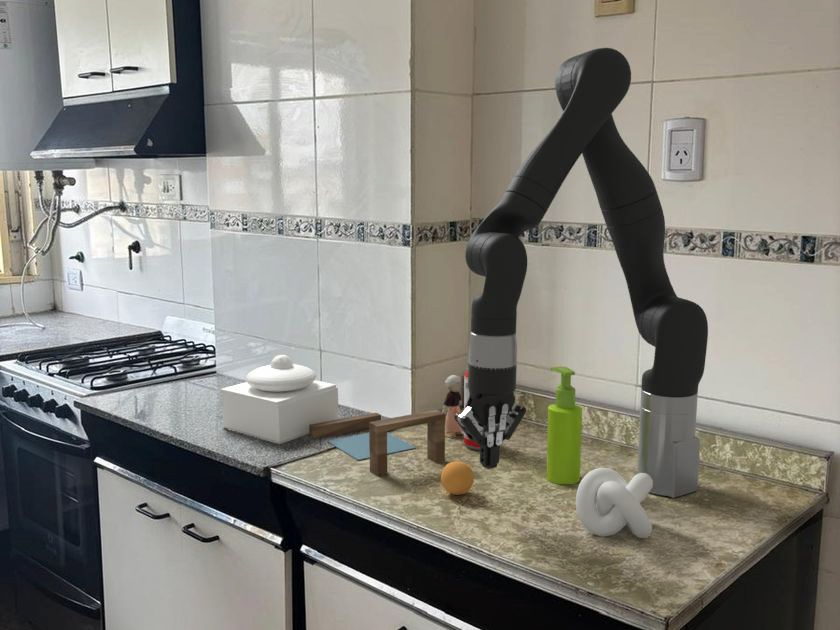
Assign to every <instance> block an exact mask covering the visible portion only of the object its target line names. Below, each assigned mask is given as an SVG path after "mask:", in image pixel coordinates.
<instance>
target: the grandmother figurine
mask: <svg viewBox="0 0 840 630" xmlns="http://www.w3.org/2000/svg"><path fill="white" fill-rule="evenodd" d="M461 382H462V379H461V377H460V376H458V375H455V374H451V375H449V376H448V377H447V378H446V379H445V381H444V384H445V386H446V387H447V389H448V390H449V392H447V394H446V397H445V400H444V402H443V406H442V410H441V412H443V413H445V438H448V437H450V438H449V439H454V438H456V437H457V435H456V434H459V435H461V434H462V432H464V431H463V430H462V428H461V427H460V426H459V424H458V423H457V422H456V420H455V418H454V417H455V415H456V414H457V413H459V414H461V413H462V412H461V408H460V407H461V406H462V405H463V401H462V396H461V393H460V391H459V390H460V388H461Z"/></svg>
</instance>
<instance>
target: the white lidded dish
mask: <svg viewBox="0 0 840 630" xmlns="http://www.w3.org/2000/svg"><path fill="white" fill-rule="evenodd" d="M316 377H317V374H316V372H315V371H314V370H313V369H311V368H309V367H308V366H305V365H302V364H296V363H293V360H292V358H290V357H289V356H288V355H287V354H279V355H275V356H274V357H273V358H272V360H271V361H270V364H268V365H263V366H260V367H259V366H258V367H257V368H255V369H253V370H252V371H250V372H249V373H247V375H246V377H245V382H242V383H237V384H234V385H231V386H226V387H223V388H220V391H219V392H220V393H221V408H222V428H223V427H224V428H227V429H231V430H234V431H237V432H236V433H238V432H240V433H239V434H241V433H244V434H243V435H245V434H247V435H246V436H248V435H250V436H249V437H252V436H254V437H253V438H256V437H257V438H256V439H259V438H260V440H263V441H266V442H267V441H268V442H271V443H274V444H277V445H281V444H284V443H287V442H289V441H292V440H296V439H298V438H301V437H303V436H306V435H309V425H310V424H316V423H321V422H327V421H332V420H338V419H340V418H339V389H338V387H337V384H336V383H329V382H325V381H321V380H316ZM227 429H226V430H227ZM231 430H230V431H231ZM234 431H233V432H234Z"/></svg>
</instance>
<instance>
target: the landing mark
mask: <svg viewBox="0 0 840 630" xmlns="http://www.w3.org/2000/svg"><path fill="white" fill-rule="evenodd" d="M327 443H328V444H330V445H332V446H333V447H335V448H337V449H338V450H340V451H341V452H343V453H345V454H347V455H348V456H350V457H351V458H353V459H354V460H357V461H363V460H370V449H369V433H364V434H363V433H362V434H358V435H352V436H347V437H343V438H342V437H341V438H338V439H332V440H327ZM415 448H416V449H417V447H416V446H414V445H412V444H410V443H409V442H406V441H405V440H403V439H401V438H399V437H397V436H395V435H393V434H391V433H389V432H387V455H391V454H396V453H401V452H406V451H410V450H415Z"/></svg>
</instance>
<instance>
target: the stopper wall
mask: <svg viewBox="0 0 840 630" xmlns="http://www.w3.org/2000/svg"><path fill="white" fill-rule="evenodd" d="M378 420H382V415H381V414H380V413H378V412H372V413H367V414H361V415H355V416H349V417H345V418H339V419H338V420H332V421H327V422H321V423H316V424H310V425H309V434H308V435H309V437H310V438H312V439H320V438H325V437H331V436H337V435H341V434H346V433H351V432H355V431H356V432H357V431H362V430H367V429H369V422H373V421H378Z"/></svg>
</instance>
